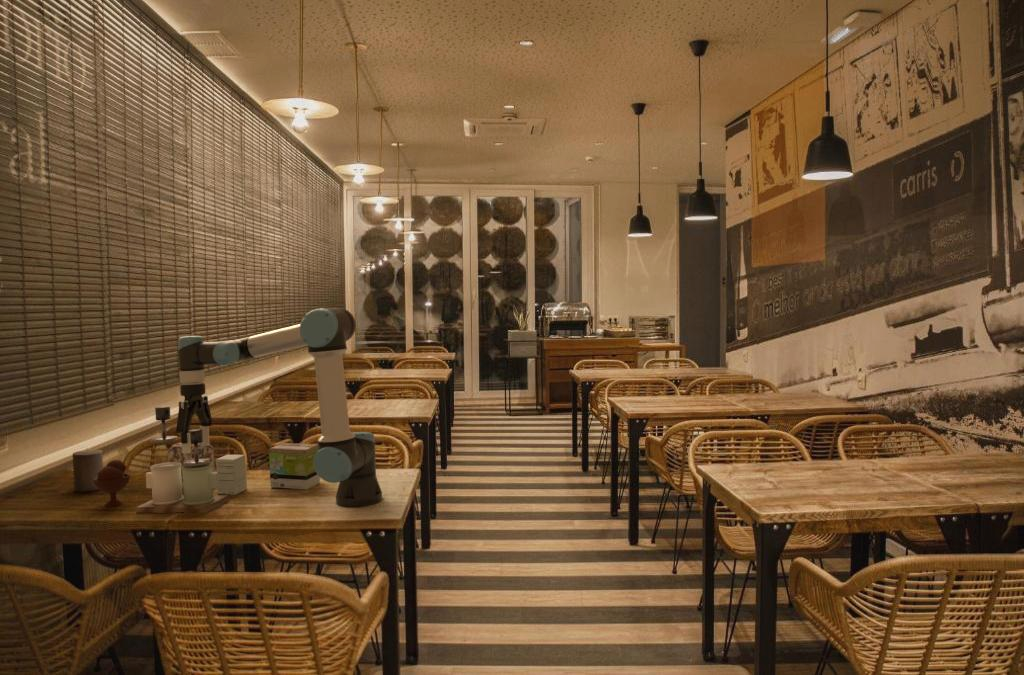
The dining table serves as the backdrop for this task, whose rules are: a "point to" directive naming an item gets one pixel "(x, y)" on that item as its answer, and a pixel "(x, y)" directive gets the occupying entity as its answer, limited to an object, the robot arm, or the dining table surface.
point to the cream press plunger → (163, 425)
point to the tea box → (293, 466)
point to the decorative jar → (190, 455)
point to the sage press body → (199, 484)
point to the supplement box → (231, 474)
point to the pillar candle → (86, 469)
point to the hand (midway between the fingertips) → (196, 449)
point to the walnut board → (182, 506)
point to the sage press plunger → (196, 449)
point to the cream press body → (165, 483)
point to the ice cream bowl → (112, 480)
